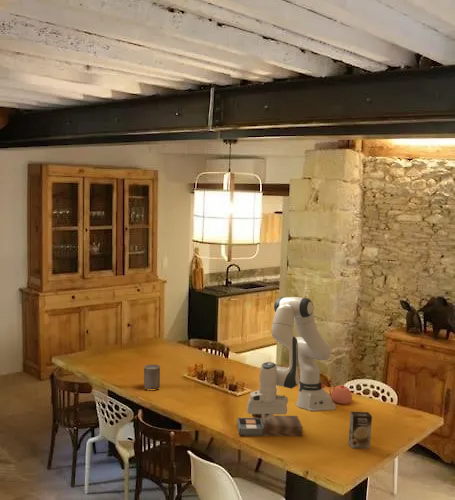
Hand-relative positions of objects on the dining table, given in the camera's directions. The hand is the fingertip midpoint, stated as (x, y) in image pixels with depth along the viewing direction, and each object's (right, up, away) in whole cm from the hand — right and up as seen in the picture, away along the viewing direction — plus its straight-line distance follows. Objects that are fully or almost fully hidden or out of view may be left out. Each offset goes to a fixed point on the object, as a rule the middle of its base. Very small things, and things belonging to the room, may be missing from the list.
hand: (266, 422), depth 300 cm
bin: (-8, -5, +4) cm, 10 cm away
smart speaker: (-66, +2, +65) cm, 93 cm away
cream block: (-8, -2, 0) cm, 8 cm away
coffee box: (+44, -8, -12) cm, 46 cm away
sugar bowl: (+47, -3, +51) cm, 69 cm away
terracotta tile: (-8, -2, +7) cm, 10 cm away
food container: (-1, -4, +24) cm, 24 cm away
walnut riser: (+8, -6, +5) cm, 11 cm away
